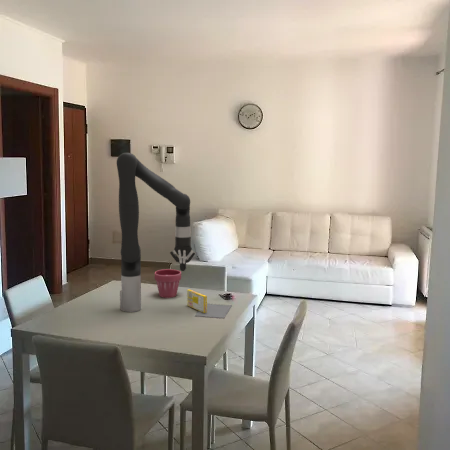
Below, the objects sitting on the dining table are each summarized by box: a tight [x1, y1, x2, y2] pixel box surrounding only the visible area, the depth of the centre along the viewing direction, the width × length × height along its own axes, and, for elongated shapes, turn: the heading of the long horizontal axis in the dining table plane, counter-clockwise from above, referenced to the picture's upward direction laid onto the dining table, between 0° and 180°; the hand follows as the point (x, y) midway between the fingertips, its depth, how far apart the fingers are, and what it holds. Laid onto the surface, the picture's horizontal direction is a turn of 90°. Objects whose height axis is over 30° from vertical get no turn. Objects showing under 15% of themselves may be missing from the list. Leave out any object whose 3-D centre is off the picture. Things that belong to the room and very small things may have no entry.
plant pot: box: [154, 268, 182, 299], centre depth 269 cm, size 14×14×13 cm
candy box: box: [186, 289, 208, 313], centre depth 246 cm, size 16×2×8 cm, turn 34°
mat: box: [194, 302, 233, 319], centre depth 245 cm, size 14×20×1 cm
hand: (183, 270), depth 245 cm, fingers closed
